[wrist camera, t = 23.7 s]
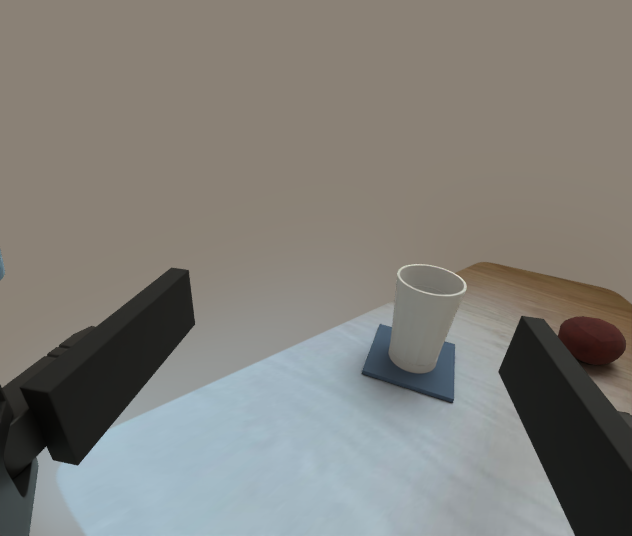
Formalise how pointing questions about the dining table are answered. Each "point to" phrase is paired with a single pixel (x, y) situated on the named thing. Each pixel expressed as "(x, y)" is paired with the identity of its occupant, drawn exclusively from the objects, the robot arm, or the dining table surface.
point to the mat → (428, 383)
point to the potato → (592, 340)
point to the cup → (423, 315)
